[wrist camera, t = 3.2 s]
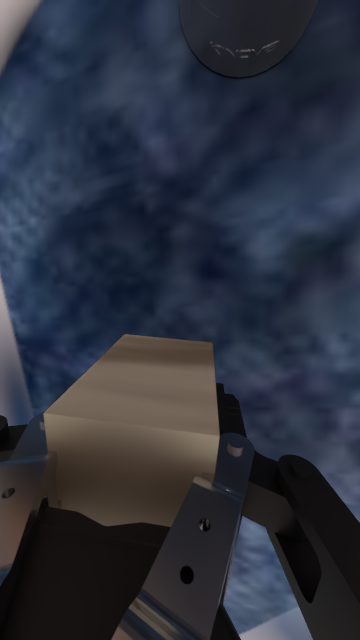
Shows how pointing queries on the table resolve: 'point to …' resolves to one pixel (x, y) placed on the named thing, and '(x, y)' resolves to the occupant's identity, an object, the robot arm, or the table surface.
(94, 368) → the maple block
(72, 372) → the table surface
